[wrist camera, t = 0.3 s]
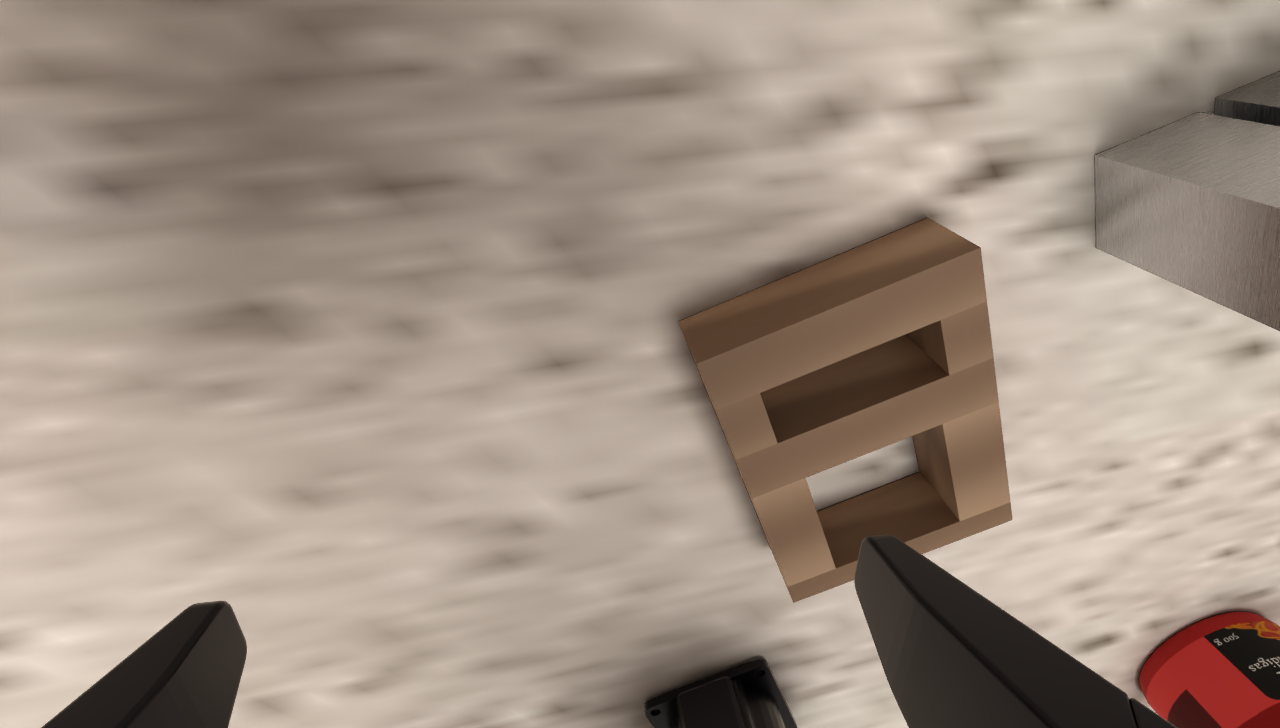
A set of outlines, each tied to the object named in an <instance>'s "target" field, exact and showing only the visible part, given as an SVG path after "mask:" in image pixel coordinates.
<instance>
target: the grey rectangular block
mask: <svg viewBox="0 0 1280 728" xmlns="http://www.w3.org/2000/svg"><path fill="white" fill-rule="evenodd" d="M1214 115H1217V116H1223V117H1229V118H1234V119H1240V120H1246V121H1251V122H1257V123H1263V124H1268V125H1274V126H1280V71H1278V72H1276V73H1274V74H1271V75H1269V76H1266V77H1264V78H1262V79H1259V80H1257V81H1254V82H1252V83H1250V84H1247V85H1245V86H1242V87H1240V88H1238V89H1235V90H1233V91H1230V92H1228V93H1225V94H1223V95H1221V96H1218V97H1216V98H1215V109H1214Z"/></svg>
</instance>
